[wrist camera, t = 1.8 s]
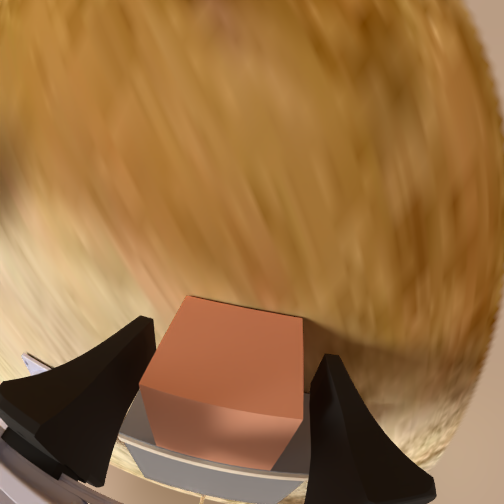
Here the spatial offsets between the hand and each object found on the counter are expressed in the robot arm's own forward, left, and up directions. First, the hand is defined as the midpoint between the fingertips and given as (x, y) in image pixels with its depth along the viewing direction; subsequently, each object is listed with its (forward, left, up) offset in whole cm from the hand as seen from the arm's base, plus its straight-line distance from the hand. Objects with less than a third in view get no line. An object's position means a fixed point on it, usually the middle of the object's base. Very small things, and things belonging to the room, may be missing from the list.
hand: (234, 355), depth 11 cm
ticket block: (-8, 0, -2) cm, 8 cm away
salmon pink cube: (-1, 0, -1) cm, 2 cm away
